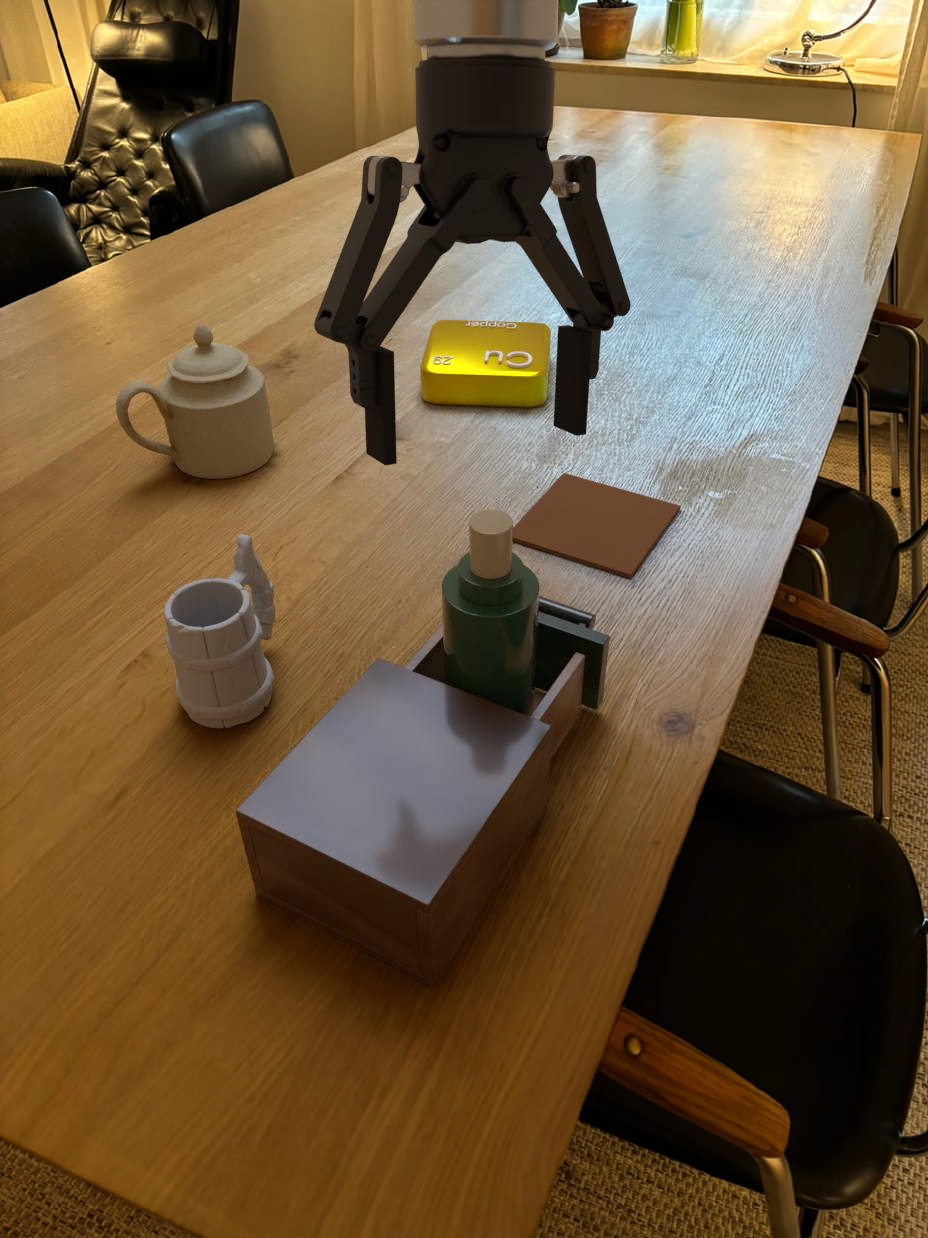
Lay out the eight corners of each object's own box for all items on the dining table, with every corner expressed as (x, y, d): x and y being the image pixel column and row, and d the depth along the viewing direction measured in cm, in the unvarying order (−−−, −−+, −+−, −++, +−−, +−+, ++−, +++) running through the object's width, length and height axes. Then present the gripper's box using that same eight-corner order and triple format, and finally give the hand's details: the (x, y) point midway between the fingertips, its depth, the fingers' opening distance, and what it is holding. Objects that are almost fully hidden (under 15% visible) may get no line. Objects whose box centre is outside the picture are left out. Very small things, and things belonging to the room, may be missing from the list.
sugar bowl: (213, 508, 101) (184, 372, 92) (129, 483, 105) (93, 350, 95) (294, 441, 111) (276, 312, 102) (215, 420, 115) (190, 294, 106)
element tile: (550, 353, 128) (551, 317, 125) (545, 409, 116) (547, 371, 113) (434, 349, 129) (433, 314, 126) (419, 404, 118) (417, 367, 114)
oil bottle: (550, 715, 75) (563, 516, 64) (496, 766, 72) (499, 565, 60) (482, 678, 79) (483, 482, 67) (428, 724, 75) (418, 526, 63)
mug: (161, 718, 79) (126, 600, 71) (238, 626, 87) (214, 512, 79) (244, 742, 76) (218, 624, 69) (316, 647, 85) (299, 531, 77)
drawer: (488, 621, 86) (488, 557, 81) (623, 669, 81) (632, 604, 76) (366, 765, 73) (359, 698, 69) (518, 832, 68) (520, 765, 64)
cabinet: (385, 741, 76) (377, 657, 71) (546, 810, 71) (552, 725, 65) (255, 895, 66) (234, 810, 60) (433, 989, 61) (428, 906, 55)
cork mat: (679, 509, 100) (680, 505, 100) (630, 578, 92) (631, 574, 91) (563, 476, 105) (563, 472, 105) (506, 539, 97) (506, 535, 96)
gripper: (629, 67, 61) (605, 407, 71) (236, 50, 50) (269, 455, 60) (712, 61, 55) (673, 433, 65) (286, 40, 45) (315, 491, 54)
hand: (479, 444), depth 62 cm, fingers open, 13 cm apart
